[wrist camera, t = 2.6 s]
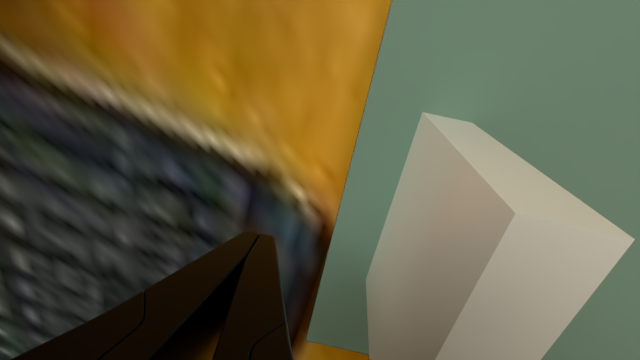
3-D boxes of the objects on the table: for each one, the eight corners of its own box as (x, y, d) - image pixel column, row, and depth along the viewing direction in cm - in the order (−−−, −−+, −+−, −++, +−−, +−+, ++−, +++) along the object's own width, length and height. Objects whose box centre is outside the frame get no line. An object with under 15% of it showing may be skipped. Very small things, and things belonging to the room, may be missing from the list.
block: (407, 288, 14) (449, 487, 8) (365, 279, 14) (374, 469, 8) (477, 123, 11) (647, 242, 5) (422, 112, 11) (515, 213, 5)
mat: (594, 399, 17) (600, 407, 16) (307, 334, 17) (306, 340, 16) (948, 42, 9) (973, 42, 9) (409, -70, 9) (411, -74, 9)
